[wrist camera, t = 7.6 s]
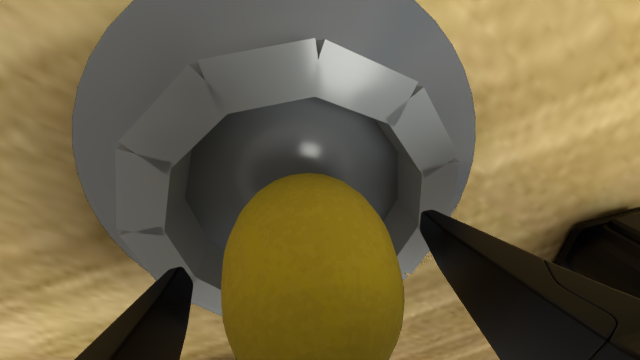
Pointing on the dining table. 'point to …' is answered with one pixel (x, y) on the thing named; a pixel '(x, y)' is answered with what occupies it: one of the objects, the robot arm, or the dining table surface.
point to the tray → (266, 121)
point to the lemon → (311, 275)
